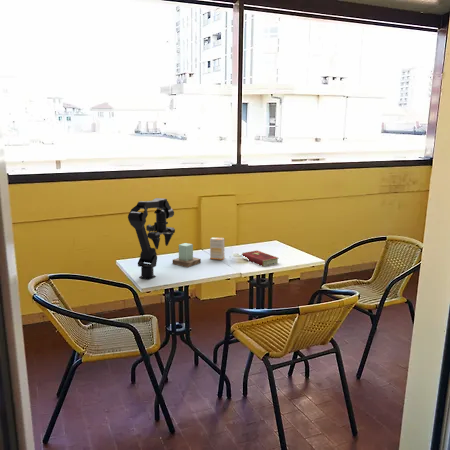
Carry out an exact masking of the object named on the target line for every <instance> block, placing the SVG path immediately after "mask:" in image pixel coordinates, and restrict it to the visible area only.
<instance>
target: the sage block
mask: <svg viewBox="0 0 450 450" xmlns="http://www.w3.org/2000/svg"><path fill="white" fill-rule="evenodd" d="M193 257H194V244H193V243H189V242H188V243H187V242H184V243H181V244H178V258H179V259H180V260H184V261H188V260H191V259H193Z"/></svg>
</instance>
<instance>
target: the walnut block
mask: <svg viewBox="0 0 450 450" xmlns="http://www.w3.org/2000/svg"><path fill="white" fill-rule="evenodd" d="M201 262H202V260H201V258H199V257H194V256H193V259H191V260H188V261H184V260H180V259H179V257H178V258H174V259H172V265H177V266H180V267H186V268H189V267H193V266H195V265H198V264H201Z"/></svg>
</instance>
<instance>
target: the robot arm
mask: <svg viewBox="0 0 450 450" xmlns="http://www.w3.org/2000/svg"><path fill="white" fill-rule="evenodd" d="M149 209H156V210H155V211H154V214H155V222H154V223H153V224H152V225H151V224H147V225H146V222H147V217H148V215H149V214H148V213H149V212H148V210H149ZM140 210H143V212H142V211H140ZM174 216H175V210H174V209H173V208H172V206H171V205H170V203H169V201H168V199H167V198H162V197H161V198H159V197H155V198H154V199H152V200H144V201H143V200H140V201H138V202H137V204H136V205H134V207H132V208H131V209H130V211H129V212H128V215H127V219H128V222H129V224H130V226H131V227H132V228H133V229H134V230H135V233H136V236H137V239H138V242H139V243H138V244H139V246H140V249H141V250H140V253H139V254H140V255H139V259H138V262H137V267H138V268H139V267H141V269H140V271H141V275H140V276H139V277H138V278H139V279H144V280H148V281H149V280H151V279H153V278H156V276H157V275H154V268H155V267H157V261H158V255H157V254H158V253H157V250H159V247H160V242H161V235H163V236H164V244H165V246H166V247H168V246H169V244H170V240H171V239H172V237H173V235H174V234H175V233H176V228H174V227H171V226H167V225H168V224H169V223H168V221H167V219H171V218H173V217H174ZM145 225H146V226H145ZM147 232H148V233H147ZM149 239H150V240H151V241H152V242H153V245H154V247H151V245H150V244H151V243H150V240H149Z"/></svg>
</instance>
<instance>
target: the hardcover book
mask: <svg viewBox="0 0 450 450" xmlns="http://www.w3.org/2000/svg"><path fill="white" fill-rule="evenodd" d="M242 255H243V256H245V257H247V258H248V259H249V261H248V262H250V261H251V263H253V262H254V263H253V264H256V265H258V264H259V266H261V265H262V266H261V267H265V266H264V265H267V266H270V265H269V264H272V265H274V264H273V263H277V264H278V261H279V260H278V259H279V257H277V256H274V255H271V254H268V253H266V252H262V251H260V250H253V251H246V252H242V254H241V256H242Z"/></svg>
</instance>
